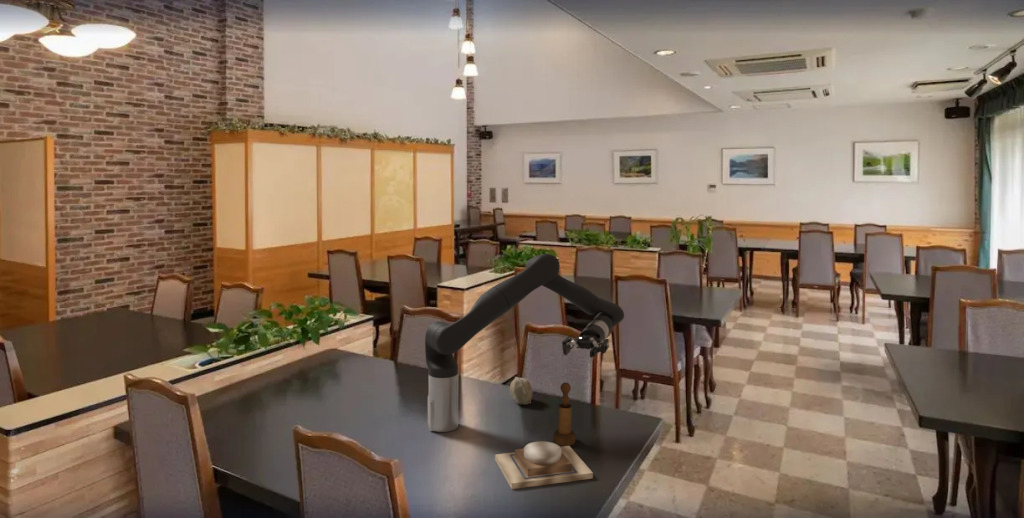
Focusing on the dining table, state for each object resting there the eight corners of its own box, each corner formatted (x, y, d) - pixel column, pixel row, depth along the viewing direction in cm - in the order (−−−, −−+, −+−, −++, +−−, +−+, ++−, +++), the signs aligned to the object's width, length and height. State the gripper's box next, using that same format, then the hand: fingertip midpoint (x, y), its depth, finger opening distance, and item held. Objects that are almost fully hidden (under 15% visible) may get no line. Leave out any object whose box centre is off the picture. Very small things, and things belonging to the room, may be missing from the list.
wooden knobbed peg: (574, 447, 177) (575, 387, 175) (552, 445, 178) (553, 385, 176) (576, 437, 184) (577, 380, 181) (555, 435, 185) (556, 378, 183)
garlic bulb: (524, 413, 209) (523, 390, 205) (503, 404, 214) (502, 382, 209) (538, 398, 216) (538, 375, 212) (518, 389, 220) (517, 367, 216)
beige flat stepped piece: (511, 489, 152) (511, 468, 152) (495, 459, 169) (495, 440, 168) (592, 478, 158) (593, 458, 158) (569, 450, 175) (569, 432, 174)
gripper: (573, 322, 203) (555, 340, 189) (614, 325, 197) (599, 344, 183) (575, 343, 205) (557, 362, 191) (616, 346, 199) (600, 367, 185)
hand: (577, 353), depth 187 cm, fingers open, 8 cm apart
